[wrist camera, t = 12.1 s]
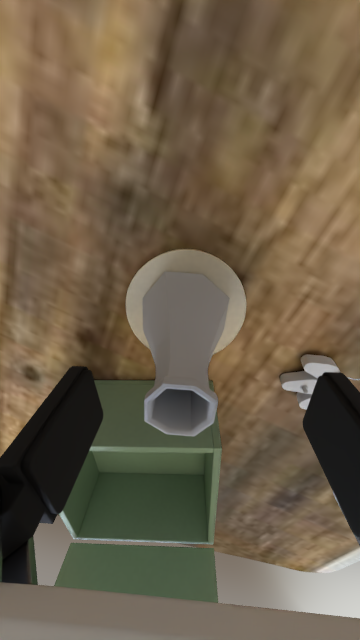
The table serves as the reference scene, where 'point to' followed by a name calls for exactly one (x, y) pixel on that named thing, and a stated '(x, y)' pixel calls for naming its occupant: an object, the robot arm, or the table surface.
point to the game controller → (308, 377)
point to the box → (144, 476)
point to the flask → (182, 351)
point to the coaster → (194, 264)
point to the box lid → (141, 570)
